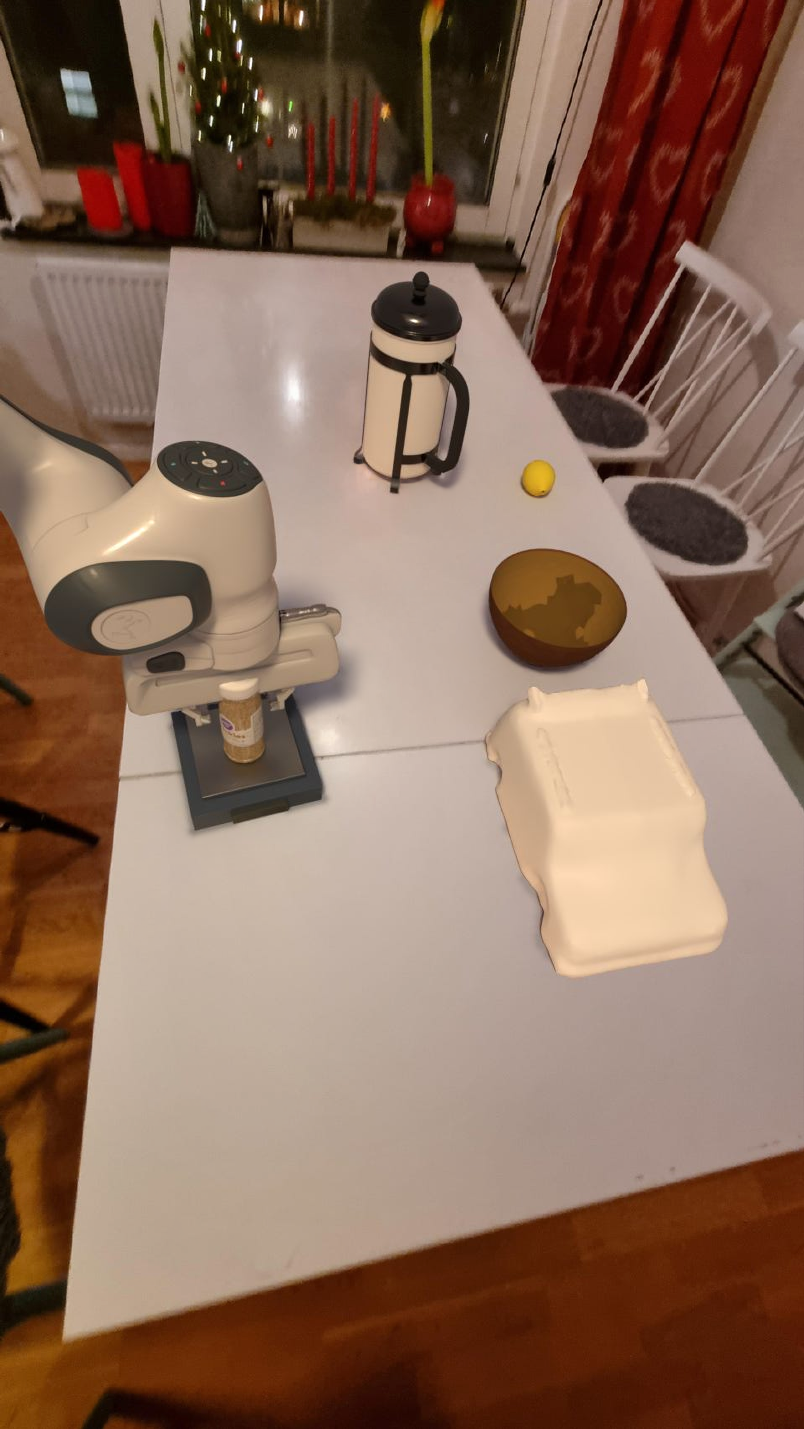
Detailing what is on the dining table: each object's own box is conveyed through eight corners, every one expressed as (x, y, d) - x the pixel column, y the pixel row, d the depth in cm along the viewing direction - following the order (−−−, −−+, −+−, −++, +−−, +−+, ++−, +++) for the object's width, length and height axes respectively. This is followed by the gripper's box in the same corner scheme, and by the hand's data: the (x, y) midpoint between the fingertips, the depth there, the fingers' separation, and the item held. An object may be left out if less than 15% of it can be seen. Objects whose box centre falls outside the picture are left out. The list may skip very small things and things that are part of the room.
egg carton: (615, 723, 90) (658, 655, 79) (721, 954, 73) (793, 909, 62) (475, 738, 86) (499, 669, 75) (552, 987, 69) (598, 944, 58)
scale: (196, 836, 74) (192, 823, 72) (174, 727, 82) (170, 712, 79) (323, 805, 78) (323, 791, 76) (291, 703, 86) (290, 688, 83)
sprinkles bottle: (216, 755, 76) (201, 678, 65) (237, 724, 78) (226, 645, 68) (253, 771, 75) (245, 695, 64) (273, 739, 78) (269, 662, 67)
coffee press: (343, 489, 112) (354, 288, 88) (362, 434, 121) (377, 239, 97) (449, 510, 112) (489, 315, 87) (459, 454, 121) (499, 264, 97)
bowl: (490, 701, 90) (508, 650, 82) (463, 602, 100) (477, 548, 92) (617, 694, 93) (647, 645, 85) (578, 600, 103) (602, 547, 95)
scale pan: (203, 801, 73) (202, 797, 73) (185, 718, 79) (185, 714, 78) (305, 777, 76) (305, 773, 76) (281, 699, 82) (281, 695, 81)
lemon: (515, 478, 119) (523, 450, 114) (546, 480, 120) (555, 452, 115) (522, 504, 115) (530, 476, 110) (553, 506, 115) (563, 478, 111)
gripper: (332, 578, 66) (328, 671, 77) (103, 613, 60) (134, 708, 71) (352, 626, 62) (344, 716, 73) (111, 668, 57) (143, 758, 68)
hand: (239, 712), depth 72 cm, fingers open, 6 cm apart
